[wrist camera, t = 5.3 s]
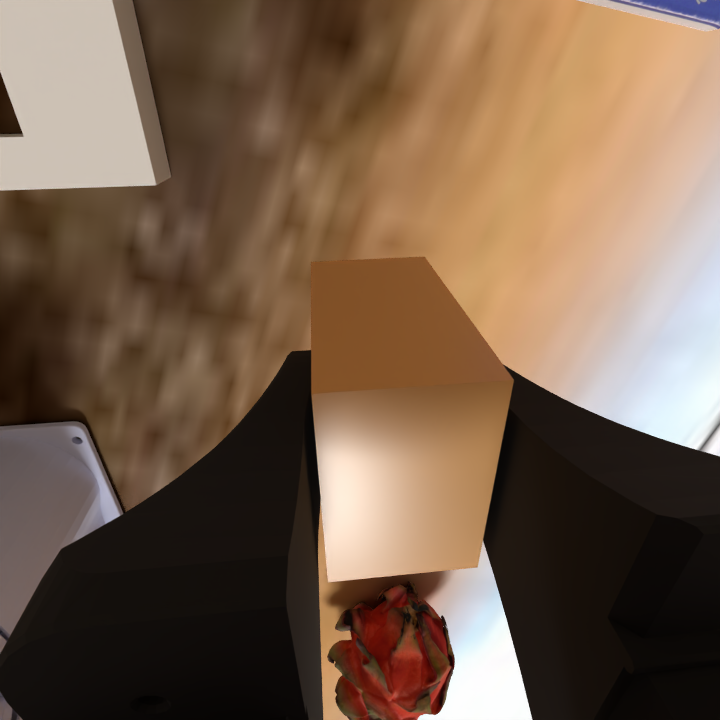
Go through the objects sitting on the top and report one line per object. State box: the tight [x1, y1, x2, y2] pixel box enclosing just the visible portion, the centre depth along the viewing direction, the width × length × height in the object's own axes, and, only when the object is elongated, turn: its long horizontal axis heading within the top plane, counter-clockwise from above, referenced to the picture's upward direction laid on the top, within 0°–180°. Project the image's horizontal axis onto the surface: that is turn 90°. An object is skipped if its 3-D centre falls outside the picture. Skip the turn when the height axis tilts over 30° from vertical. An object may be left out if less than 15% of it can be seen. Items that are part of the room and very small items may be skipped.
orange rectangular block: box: [311, 257, 514, 582], centre depth 10 cm, size 4×3×6 cm, turn 1°
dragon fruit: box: [327, 581, 455, 720], centre depth 31 cm, size 8×8×12 cm
